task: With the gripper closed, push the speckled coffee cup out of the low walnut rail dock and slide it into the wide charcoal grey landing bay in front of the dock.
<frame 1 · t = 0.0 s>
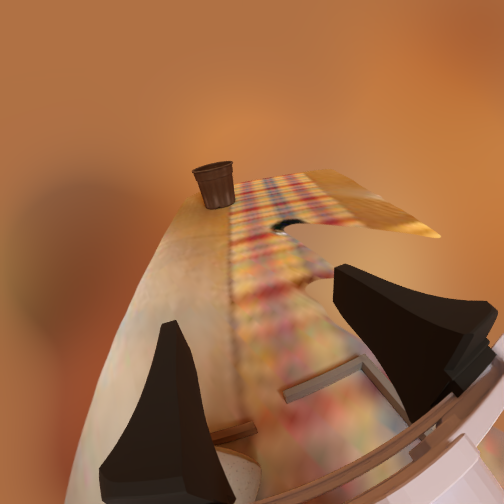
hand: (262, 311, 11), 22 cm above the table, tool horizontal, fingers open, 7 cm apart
speckled coffee cup: (212, 497, 19), on the table
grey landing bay: (365, 439, 22), on the table
plant pot: (220, 204, 109), on the table
walnut dock: (212, 497, 18), on the table
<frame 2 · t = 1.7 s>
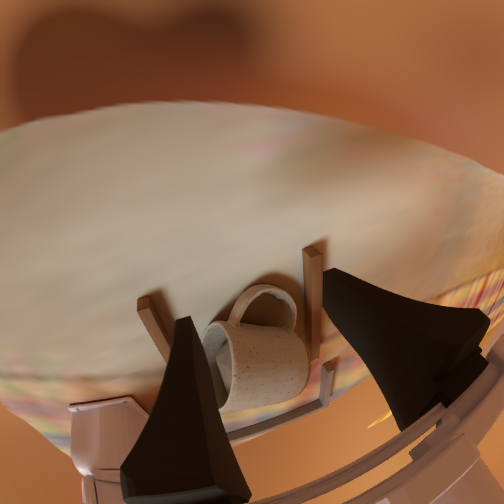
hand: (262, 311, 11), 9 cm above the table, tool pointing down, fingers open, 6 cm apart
speckled coffee cup: (243, 326, 25), on the table
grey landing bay: (263, 408, 34), on the table
walnut dock: (242, 332, 25), on the table
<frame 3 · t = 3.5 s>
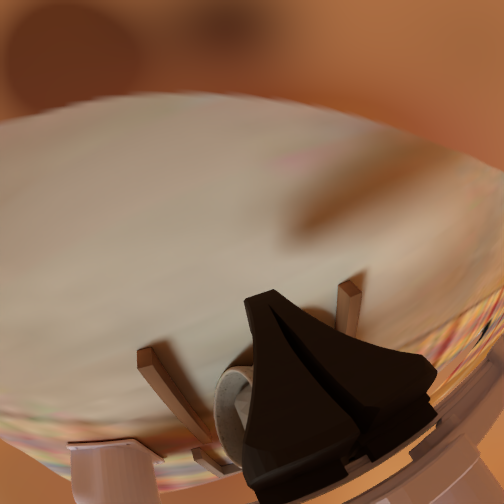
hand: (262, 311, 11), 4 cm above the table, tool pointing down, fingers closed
speckled coffee cup: (266, 365, 20), on the table
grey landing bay: (277, 439, 29), on the table
walnut dock: (262, 376, 20), on the table
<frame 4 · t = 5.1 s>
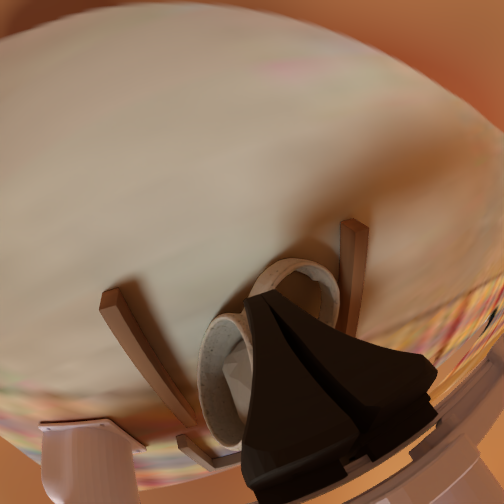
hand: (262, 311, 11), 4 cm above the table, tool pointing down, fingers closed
speckled coffee cup: (261, 321, 18), on the table, touching gripper
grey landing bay: (274, 427, 27), on the table
walnut dock: (253, 340, 18), on the table
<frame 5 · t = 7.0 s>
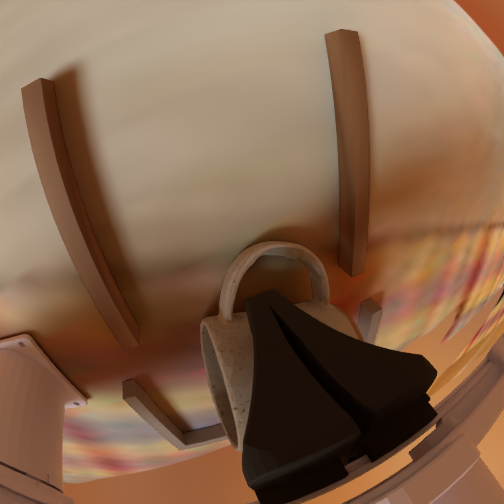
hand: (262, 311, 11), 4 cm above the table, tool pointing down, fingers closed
speckled coffee cup: (255, 312, 17), on the table, touching gripper
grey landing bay: (263, 384, 21), on the table
walnut dock: (220, 181, 12), on the table
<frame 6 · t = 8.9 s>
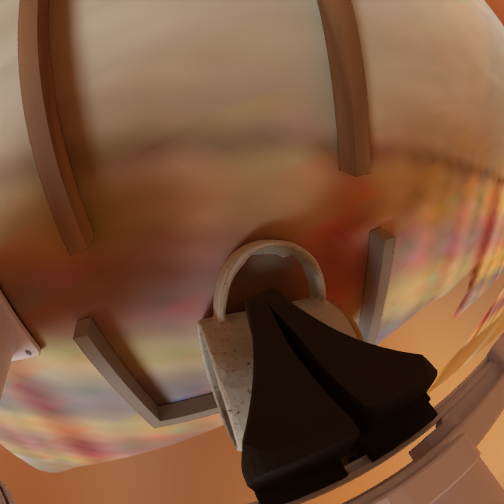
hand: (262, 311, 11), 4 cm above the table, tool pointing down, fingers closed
speckled coffee cup: (253, 311, 17), on the table, touching gripper
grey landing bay: (253, 338, 18), on the table
walnut dock: (196, 51, 9), on the table
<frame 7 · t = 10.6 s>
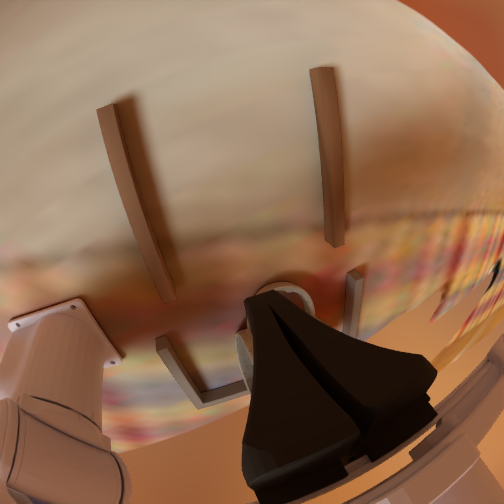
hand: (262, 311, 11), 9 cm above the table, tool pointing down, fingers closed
speckled coffee cup: (269, 323, 26), on the table
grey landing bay: (269, 343, 27), on the table
walnut dock: (237, 178, 18), on the table
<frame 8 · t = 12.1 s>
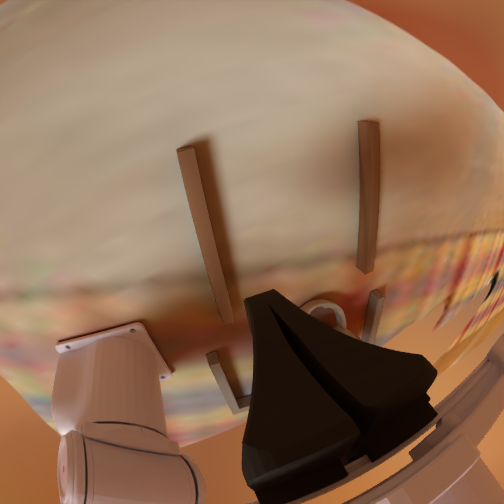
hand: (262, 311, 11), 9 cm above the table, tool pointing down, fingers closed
speckled coffee cup: (304, 334, 29), on the table
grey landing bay: (301, 353, 30), on the table
walnut dock: (294, 217, 21), on the table
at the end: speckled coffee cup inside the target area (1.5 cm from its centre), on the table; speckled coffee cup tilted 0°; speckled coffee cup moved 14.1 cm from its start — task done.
